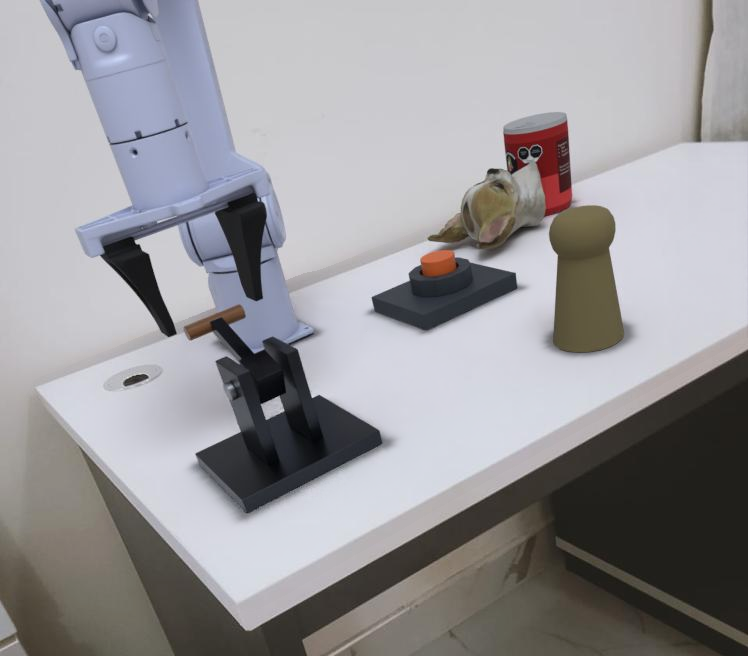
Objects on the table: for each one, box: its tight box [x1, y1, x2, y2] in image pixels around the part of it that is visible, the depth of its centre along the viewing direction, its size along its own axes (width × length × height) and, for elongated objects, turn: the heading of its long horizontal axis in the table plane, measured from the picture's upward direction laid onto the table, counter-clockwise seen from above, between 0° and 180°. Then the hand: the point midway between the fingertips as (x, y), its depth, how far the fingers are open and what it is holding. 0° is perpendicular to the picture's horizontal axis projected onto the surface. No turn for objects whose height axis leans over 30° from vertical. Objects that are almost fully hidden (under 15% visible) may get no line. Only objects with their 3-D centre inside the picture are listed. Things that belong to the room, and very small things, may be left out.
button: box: [419, 249, 457, 276], centre depth 79 cm, size 4×4×2 cm
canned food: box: [502, 111, 573, 217], centre depth 98 cm, size 8×8×11 cm
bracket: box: [194, 336, 383, 514], centre depth 58 cm, size 10×12×9 cm
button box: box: [371, 256, 518, 331], centre depth 80 cm, size 10×12×4 cm
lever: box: [183, 304, 286, 405], centre depth 58 cm, size 10×5×2 cm, turn 32°
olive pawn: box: [548, 204, 625, 353], centre depth 63 cm, size 6×6×11 cm
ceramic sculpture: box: [427, 161, 546, 250], centre depth 92 cm, size 11×9×15 cm
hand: (212, 315), depth 60 cm, fingers open, 7 cm apart
